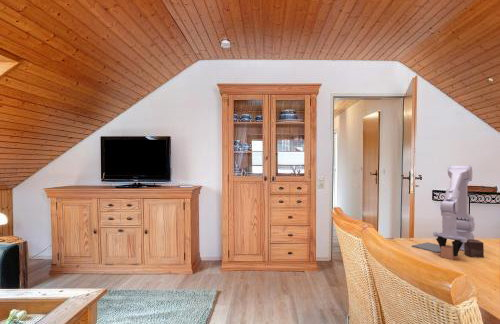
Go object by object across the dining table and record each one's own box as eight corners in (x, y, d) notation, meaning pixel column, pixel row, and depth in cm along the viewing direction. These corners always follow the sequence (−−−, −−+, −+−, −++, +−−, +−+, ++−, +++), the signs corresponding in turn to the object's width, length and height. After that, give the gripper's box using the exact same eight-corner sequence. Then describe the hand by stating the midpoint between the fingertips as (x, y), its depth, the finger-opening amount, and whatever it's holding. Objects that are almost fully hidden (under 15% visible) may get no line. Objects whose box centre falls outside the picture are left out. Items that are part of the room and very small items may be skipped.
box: (484, 258, 150) (484, 242, 150) (469, 257, 151) (469, 241, 151) (477, 254, 155) (477, 239, 156) (463, 253, 157) (463, 238, 157)
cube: (447, 255, 154) (447, 245, 154) (458, 258, 150) (458, 247, 150) (441, 256, 152) (441, 246, 152) (451, 259, 147) (451, 248, 147)
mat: (427, 243, 177) (427, 242, 177) (453, 249, 164) (453, 248, 164) (411, 246, 170) (411, 245, 170) (437, 253, 158) (437, 251, 158)
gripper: (429, 224, 155) (429, 251, 155) (460, 229, 142) (460, 259, 142) (438, 222, 158) (438, 249, 158) (469, 227, 146) (469, 257, 146)
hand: (449, 254), depth 151 cm, fingers closed on cube, 5 cm apart
